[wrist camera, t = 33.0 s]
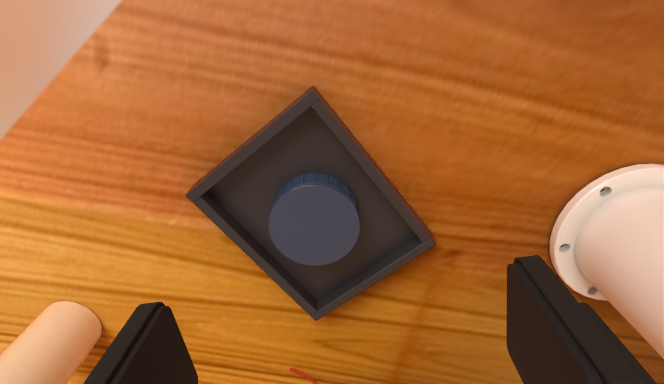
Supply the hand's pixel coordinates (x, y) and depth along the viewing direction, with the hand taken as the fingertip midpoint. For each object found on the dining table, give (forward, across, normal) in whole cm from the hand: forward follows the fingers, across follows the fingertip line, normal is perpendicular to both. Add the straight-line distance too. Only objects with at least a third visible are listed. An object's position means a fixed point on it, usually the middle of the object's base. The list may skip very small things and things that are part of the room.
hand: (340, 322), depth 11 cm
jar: (+21, +28, +15) cm, 38 cm away
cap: (+19, +3, +6) cm, 20 cm away
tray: (+21, +3, +6) cm, 22 cm away
